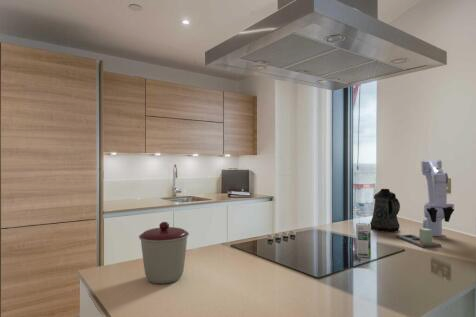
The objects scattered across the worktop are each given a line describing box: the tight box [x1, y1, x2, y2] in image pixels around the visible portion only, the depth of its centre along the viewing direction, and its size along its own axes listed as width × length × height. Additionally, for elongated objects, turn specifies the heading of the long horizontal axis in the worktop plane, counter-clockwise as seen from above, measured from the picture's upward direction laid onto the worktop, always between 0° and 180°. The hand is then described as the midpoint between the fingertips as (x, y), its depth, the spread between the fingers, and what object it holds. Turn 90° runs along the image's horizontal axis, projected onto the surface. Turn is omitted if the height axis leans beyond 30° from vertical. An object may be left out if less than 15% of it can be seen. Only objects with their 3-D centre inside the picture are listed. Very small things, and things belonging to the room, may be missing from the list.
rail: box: [395, 234, 442, 249], centre depth 167 cm, size 21×10×1 cm, turn 7°
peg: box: [419, 227, 433, 244], centre depth 161 cm, size 4×4×8 cm
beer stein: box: [369, 188, 401, 233], centre depth 195 cm, size 16×19×25 cm
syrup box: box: [355, 222, 372, 258], centre depth 144 cm, size 6×6×14 cm
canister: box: [138, 221, 190, 285], centre depth 118 cm, size 18×18×21 cm
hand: (440, 221), depth 167 cm, fingers open, 7 cm apart
